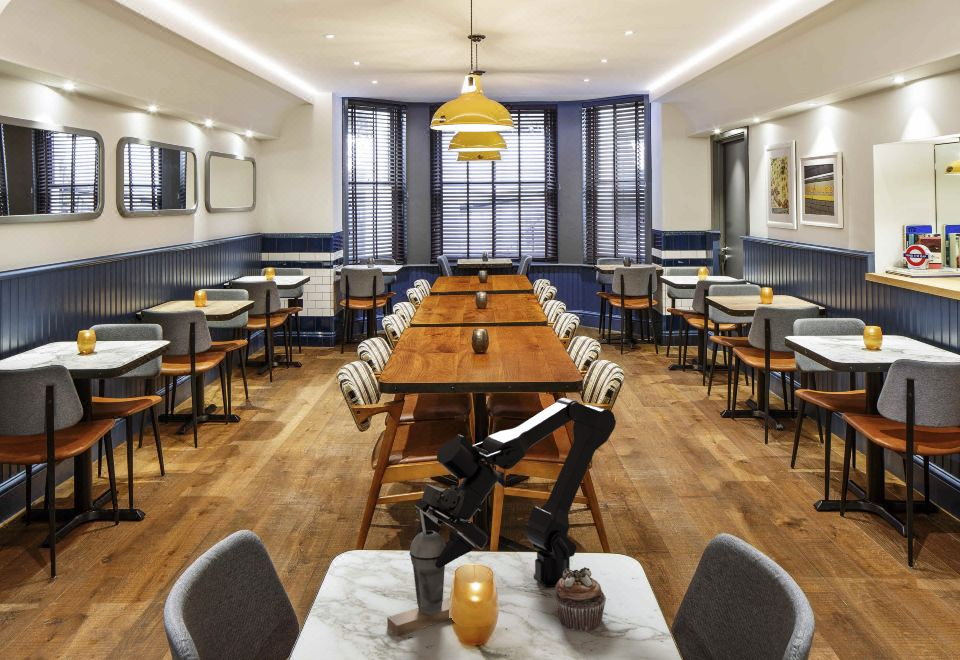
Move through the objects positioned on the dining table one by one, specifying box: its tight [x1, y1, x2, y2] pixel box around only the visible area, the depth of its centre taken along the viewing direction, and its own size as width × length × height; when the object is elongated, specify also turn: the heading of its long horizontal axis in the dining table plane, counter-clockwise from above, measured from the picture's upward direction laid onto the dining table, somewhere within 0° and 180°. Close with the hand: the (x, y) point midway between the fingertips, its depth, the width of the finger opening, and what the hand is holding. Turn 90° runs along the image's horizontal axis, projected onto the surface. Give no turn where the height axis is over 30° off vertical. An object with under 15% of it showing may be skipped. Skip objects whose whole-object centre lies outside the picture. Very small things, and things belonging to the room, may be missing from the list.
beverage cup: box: [409, 510, 447, 615], centre depth 160 cm, size 7×7×20 cm
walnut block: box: [386, 597, 451, 636], centre depth 161 cm, size 16×4×2 cm, turn 123°
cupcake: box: [554, 566, 607, 632], centre depth 159 cm, size 10×10×10 cm
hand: (424, 558), depth 159 cm, fingers open, 9 cm apart
